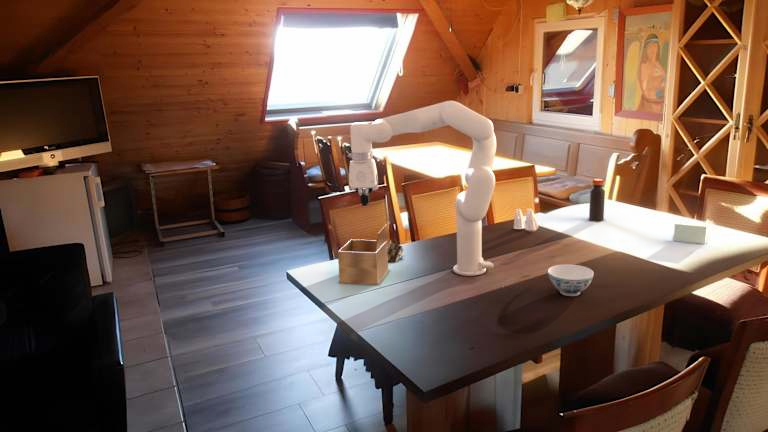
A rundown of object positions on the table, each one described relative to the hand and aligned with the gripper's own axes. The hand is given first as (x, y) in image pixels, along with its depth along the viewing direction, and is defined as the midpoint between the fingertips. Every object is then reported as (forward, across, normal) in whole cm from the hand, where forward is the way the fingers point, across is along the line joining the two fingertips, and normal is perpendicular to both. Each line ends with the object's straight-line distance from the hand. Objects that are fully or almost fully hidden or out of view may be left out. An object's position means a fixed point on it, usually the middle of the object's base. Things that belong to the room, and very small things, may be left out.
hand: (365, 205), depth 223 cm
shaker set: (+30, +55, +72) cm, 96 cm away
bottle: (+30, +88, +95) cm, 133 cm away
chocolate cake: (+29, +4, +23) cm, 37 cm away
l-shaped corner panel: (+30, +125, +68) cm, 146 cm away
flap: (+12, +6, 0) cm, 13 cm away
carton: (+29, -2, 0) cm, 29 cm away
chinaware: (+30, +74, -4) cm, 80 cm away
